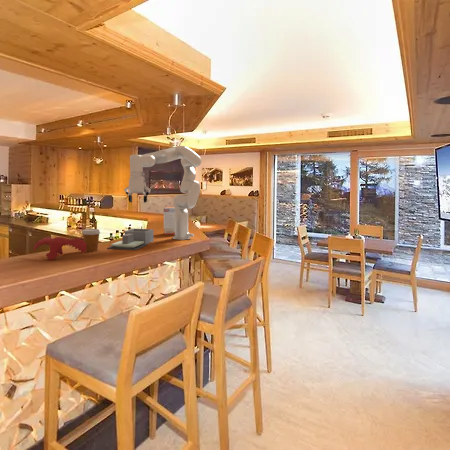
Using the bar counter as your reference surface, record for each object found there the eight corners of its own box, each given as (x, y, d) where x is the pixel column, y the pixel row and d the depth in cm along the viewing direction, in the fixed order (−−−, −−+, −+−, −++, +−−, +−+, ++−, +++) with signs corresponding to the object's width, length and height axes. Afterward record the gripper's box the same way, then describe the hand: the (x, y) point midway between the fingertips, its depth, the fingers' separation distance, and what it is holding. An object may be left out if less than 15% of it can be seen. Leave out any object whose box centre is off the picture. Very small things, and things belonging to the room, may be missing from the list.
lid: (144, 244, 209) (144, 233, 208) (134, 248, 195) (134, 237, 194) (122, 243, 211) (122, 232, 211) (111, 247, 197) (110, 235, 196)
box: (153, 240, 226) (153, 229, 225) (145, 244, 212) (145, 232, 211) (134, 239, 228) (134, 228, 227) (124, 243, 214) (124, 231, 213)
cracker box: (183, 233, 261) (183, 207, 258) (181, 235, 255) (181, 208, 252) (165, 233, 262) (165, 206, 260) (163, 234, 256) (163, 207, 254)
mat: (147, 244, 210) (147, 244, 210) (135, 250, 193) (135, 249, 193) (121, 243, 213) (121, 242, 213) (106, 248, 196) (106, 247, 196)
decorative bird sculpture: (83, 268, 167) (92, 243, 176) (75, 258, 159) (85, 233, 168) (30, 265, 169) (41, 241, 178) (20, 256, 162) (33, 231, 170)
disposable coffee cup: (99, 252, 185) (99, 230, 184) (81, 252, 183) (80, 231, 181) (101, 248, 194) (100, 228, 193) (83, 249, 192) (83, 228, 190)
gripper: (152, 174, 209) (153, 201, 212) (126, 175, 212) (127, 201, 214) (147, 174, 202) (148, 202, 205) (121, 175, 205) (122, 202, 207)
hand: (137, 202), depth 210 cm, fingers open, 9 cm apart
